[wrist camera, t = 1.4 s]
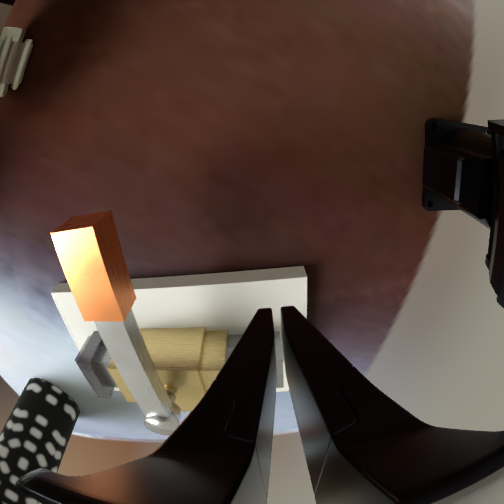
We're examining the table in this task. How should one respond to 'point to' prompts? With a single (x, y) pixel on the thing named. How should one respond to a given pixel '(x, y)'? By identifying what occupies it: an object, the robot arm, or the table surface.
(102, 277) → the valve lever
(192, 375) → the valve pipe run
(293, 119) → the table surface
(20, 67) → the pneumatic valve
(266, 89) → the table surface
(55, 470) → the spotted tube
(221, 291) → the base plate
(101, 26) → the table surface
